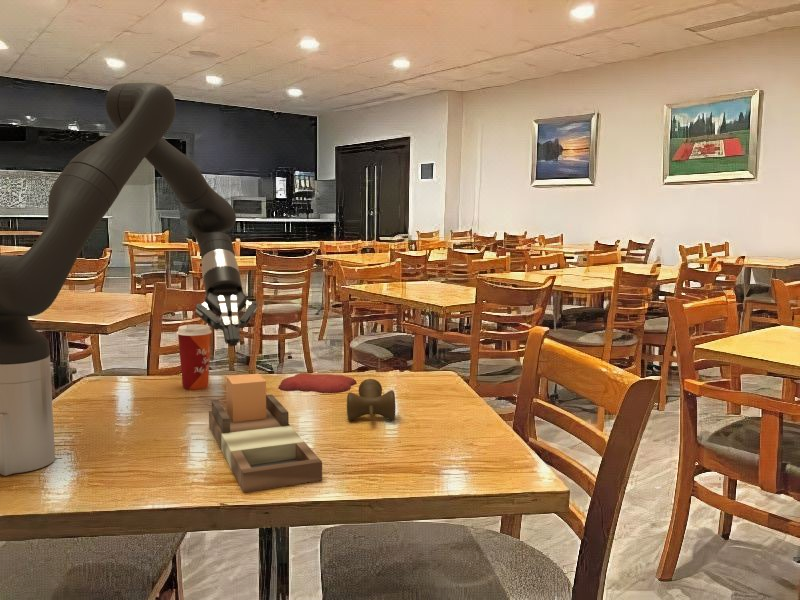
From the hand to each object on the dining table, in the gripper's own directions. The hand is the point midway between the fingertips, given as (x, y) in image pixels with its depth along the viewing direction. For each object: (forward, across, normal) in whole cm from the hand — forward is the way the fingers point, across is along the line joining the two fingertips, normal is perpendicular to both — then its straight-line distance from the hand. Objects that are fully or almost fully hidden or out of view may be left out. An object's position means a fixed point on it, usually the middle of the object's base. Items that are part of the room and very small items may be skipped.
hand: (233, 343), depth 134 cm
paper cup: (-6, -4, +27) cm, 28 cm away
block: (+16, 0, 0) cm, 16 cm away
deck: (+26, 0, -6) cm, 27 cm away
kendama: (+17, +26, +4) cm, 31 cm away
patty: (0, +22, +22) cm, 31 cm away
